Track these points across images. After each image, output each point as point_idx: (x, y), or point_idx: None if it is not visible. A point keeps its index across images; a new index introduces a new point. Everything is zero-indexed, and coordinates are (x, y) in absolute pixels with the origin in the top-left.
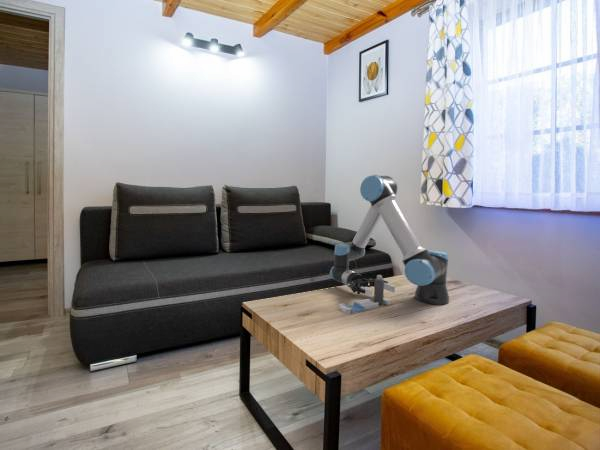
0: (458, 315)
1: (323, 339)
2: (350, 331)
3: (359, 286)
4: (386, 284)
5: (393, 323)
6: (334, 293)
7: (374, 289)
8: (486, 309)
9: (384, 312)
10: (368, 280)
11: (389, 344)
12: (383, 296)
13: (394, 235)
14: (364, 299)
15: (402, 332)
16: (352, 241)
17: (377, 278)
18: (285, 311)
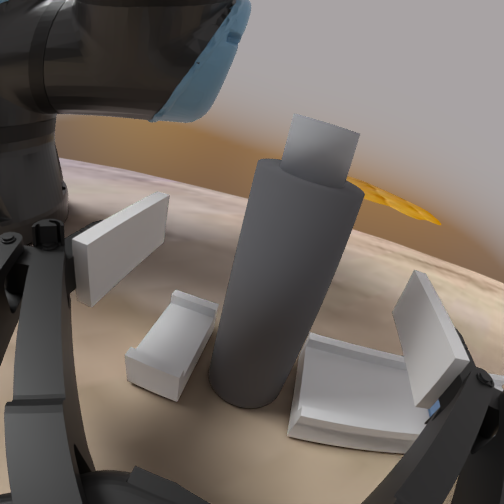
0: (139, 184)
1: None
2: (494, 318)
3: (472, 382)
4: (116, 231)
5: (365, 270)
6: None
7: (321, 301)
8: (60, 163)
9: (322, 313)
10: (71, 456)
11: (433, 258)
12: (136, 350)
13: None
14: (357, 426)
15: (378, 250)
16: None
17: (350, 163)
18: None
